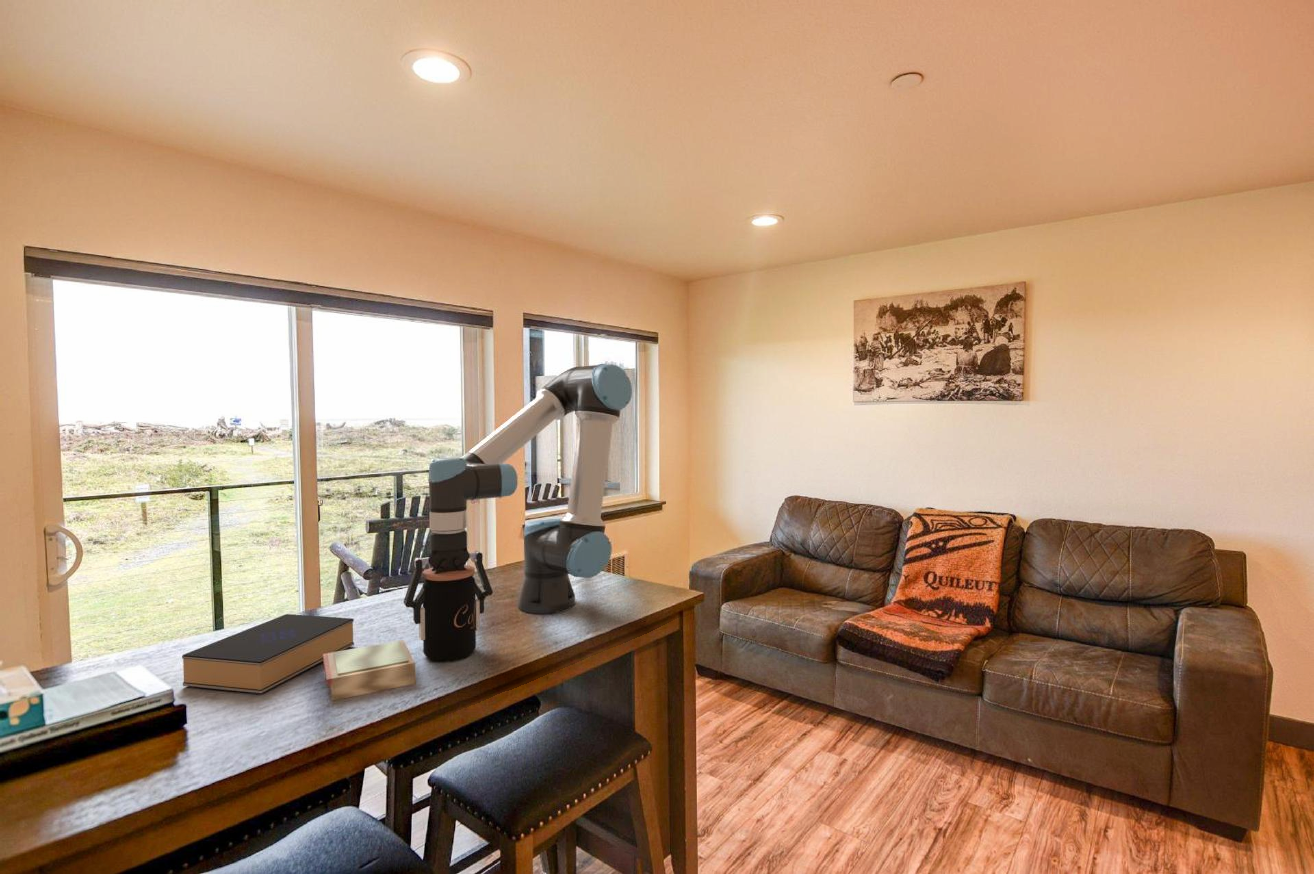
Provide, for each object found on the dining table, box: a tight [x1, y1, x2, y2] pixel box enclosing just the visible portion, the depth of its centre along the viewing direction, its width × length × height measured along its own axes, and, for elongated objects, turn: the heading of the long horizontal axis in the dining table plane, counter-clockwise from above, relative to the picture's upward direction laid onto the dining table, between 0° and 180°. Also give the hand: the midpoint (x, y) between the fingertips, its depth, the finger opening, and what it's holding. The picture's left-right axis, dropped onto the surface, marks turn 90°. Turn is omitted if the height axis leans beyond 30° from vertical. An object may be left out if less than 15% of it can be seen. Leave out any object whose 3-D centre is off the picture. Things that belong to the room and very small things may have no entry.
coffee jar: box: [421, 564, 477, 663], centre depth 133 cm, size 11×11×18 cm
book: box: [181, 613, 355, 695], centre depth 127 cm, size 17×25×7 cm
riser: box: [322, 639, 416, 702], centre depth 120 cm, size 15×14×4 cm
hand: (449, 633), depth 133 cm, fingers closed on coffee jar, 11 cm apart
